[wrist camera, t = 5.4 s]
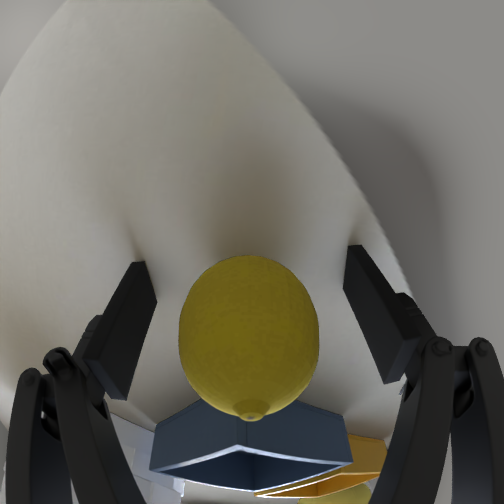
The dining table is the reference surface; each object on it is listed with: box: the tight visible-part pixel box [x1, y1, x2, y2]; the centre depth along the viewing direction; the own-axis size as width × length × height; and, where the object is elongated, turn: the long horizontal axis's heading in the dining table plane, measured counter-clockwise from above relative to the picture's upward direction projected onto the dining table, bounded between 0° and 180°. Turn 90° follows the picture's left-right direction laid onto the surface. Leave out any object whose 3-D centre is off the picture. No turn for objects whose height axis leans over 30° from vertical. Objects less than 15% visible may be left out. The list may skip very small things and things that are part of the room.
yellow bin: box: [254, 434, 387, 498], centre depth 28 cm, size 14×14×6 cm
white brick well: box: [0, 412, 185, 504], centre depth 19 cm, size 25×24×19 cm
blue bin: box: [149, 399, 354, 492], centre depth 21 cm, size 14×14×6 cm
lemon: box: [178, 255, 319, 421], centre depth 11 cm, size 6×6×8 cm
